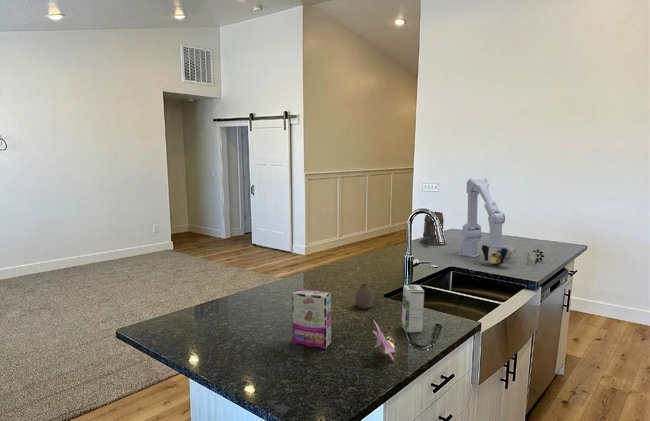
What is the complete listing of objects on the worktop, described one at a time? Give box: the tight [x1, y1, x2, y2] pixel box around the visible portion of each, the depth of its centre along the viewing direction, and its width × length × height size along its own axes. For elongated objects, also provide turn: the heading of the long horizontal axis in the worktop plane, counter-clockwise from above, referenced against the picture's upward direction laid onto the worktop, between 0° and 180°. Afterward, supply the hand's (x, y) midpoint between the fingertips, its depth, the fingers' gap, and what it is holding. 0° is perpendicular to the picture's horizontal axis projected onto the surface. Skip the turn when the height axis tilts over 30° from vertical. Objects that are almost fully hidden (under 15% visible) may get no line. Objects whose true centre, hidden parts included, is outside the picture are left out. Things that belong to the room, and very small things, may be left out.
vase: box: [354, 283, 374, 310], centre depth 163 cm, size 7×7×9 cm
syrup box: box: [401, 284, 425, 333], centre depth 143 cm, size 6×6×14 cm
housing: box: [491, 246, 517, 264], centre depth 233 cm, size 10×8×7 cm
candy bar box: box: [292, 288, 332, 350], centre depth 132 cm, size 11×5×16 cm, turn 69°
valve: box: [526, 249, 545, 266], centre depth 228 cm, size 7×7×12 cm
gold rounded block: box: [489, 252, 501, 265], centre depth 225 cm, size 6×11×6 cm, turn 140°
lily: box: [367, 320, 396, 361], centre depth 124 cm, size 12×12×10 cm
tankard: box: [419, 211, 447, 247], centre depth 271 cm, size 24×17×20 cm
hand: (493, 261), depth 222 cm, fingers open, 7 cm apart
